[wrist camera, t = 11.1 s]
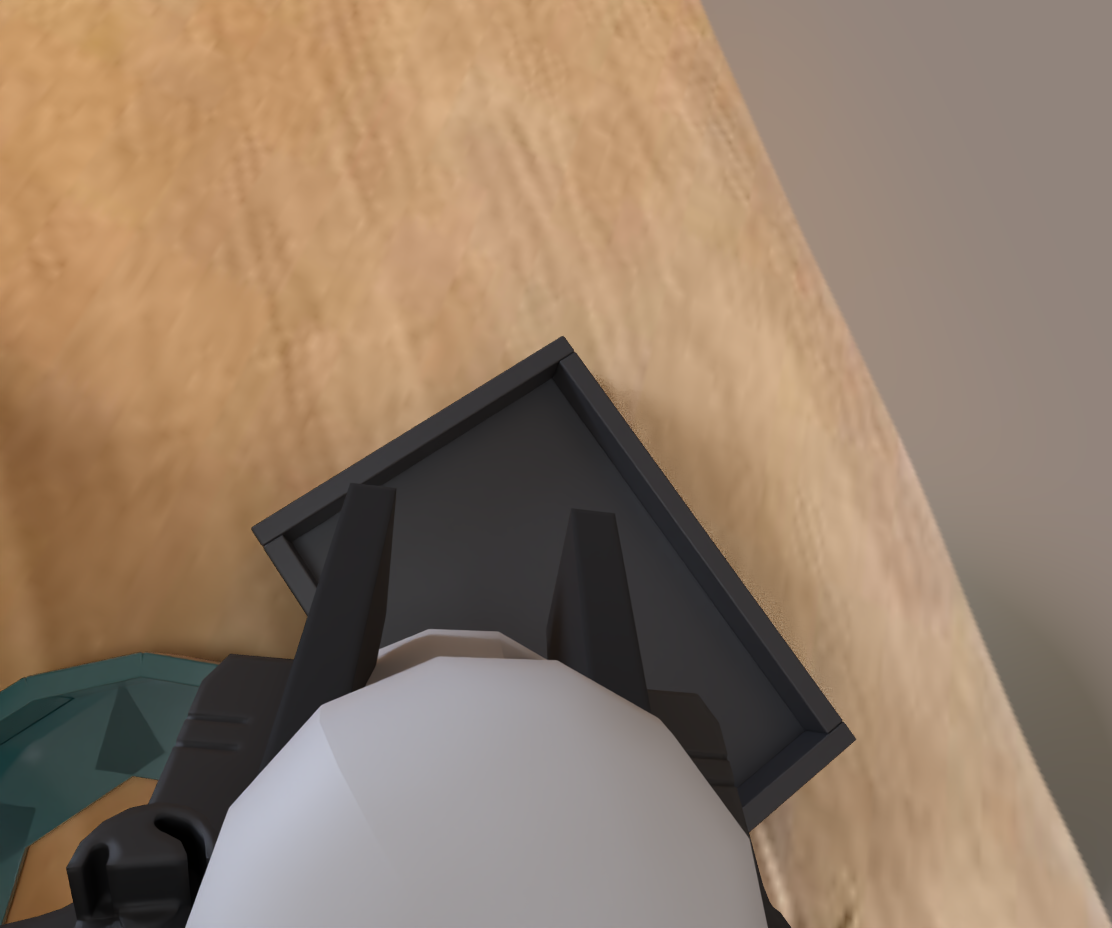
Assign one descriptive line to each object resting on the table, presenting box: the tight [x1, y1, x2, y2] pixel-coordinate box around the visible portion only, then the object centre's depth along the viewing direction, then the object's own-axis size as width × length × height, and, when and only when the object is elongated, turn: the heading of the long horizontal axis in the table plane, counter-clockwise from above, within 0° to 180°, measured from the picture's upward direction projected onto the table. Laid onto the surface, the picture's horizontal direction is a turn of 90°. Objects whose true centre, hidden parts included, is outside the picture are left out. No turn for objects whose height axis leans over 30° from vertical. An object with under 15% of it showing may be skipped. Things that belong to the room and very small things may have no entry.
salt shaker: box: [185, 629, 768, 928], centre depth 11 cm, size 6×6×13 cm
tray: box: [251, 336, 856, 832], centre depth 31 cm, size 19×14×3 cm
